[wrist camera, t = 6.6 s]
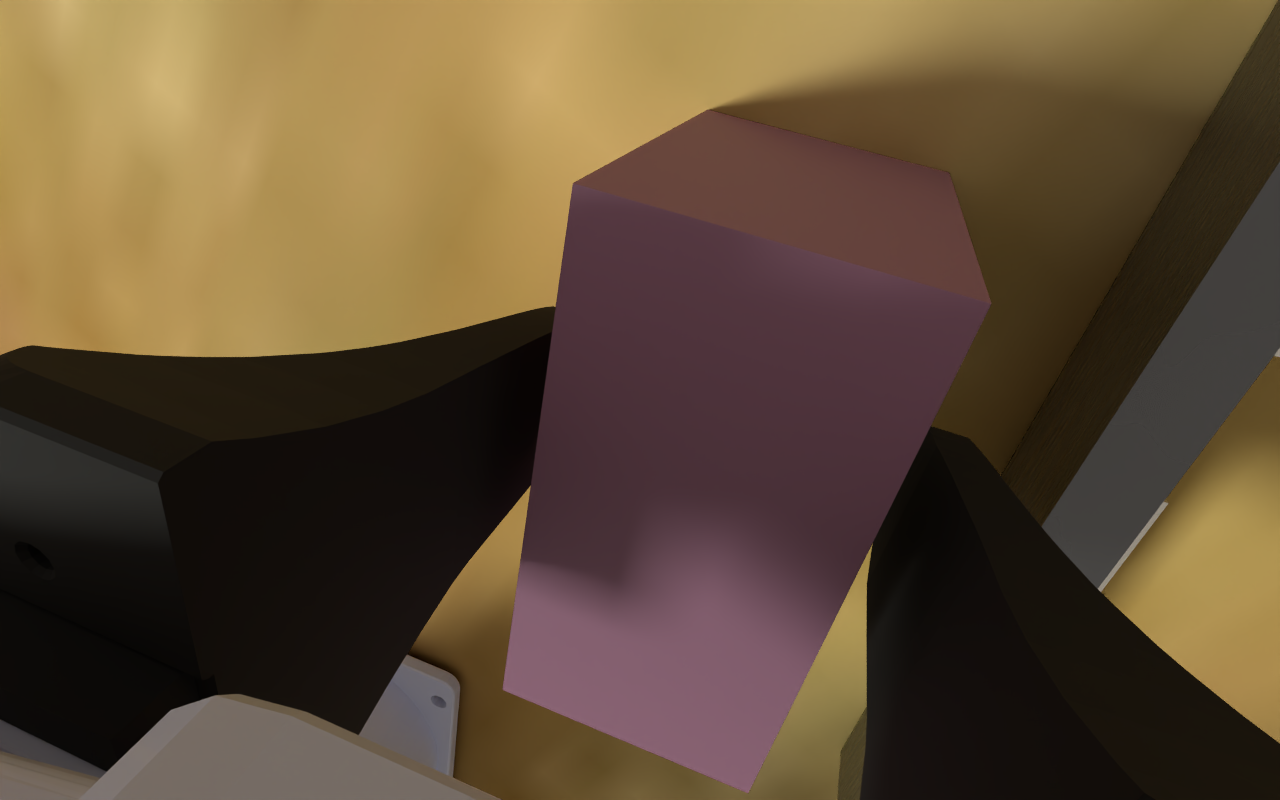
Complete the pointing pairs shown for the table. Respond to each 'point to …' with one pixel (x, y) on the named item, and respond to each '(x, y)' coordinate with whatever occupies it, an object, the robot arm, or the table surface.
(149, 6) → the table surface
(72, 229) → the table surface
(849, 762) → the price rail
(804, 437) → the carton
